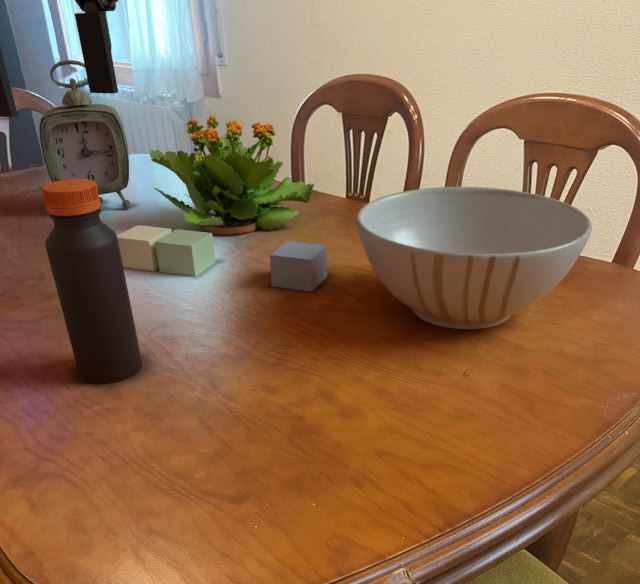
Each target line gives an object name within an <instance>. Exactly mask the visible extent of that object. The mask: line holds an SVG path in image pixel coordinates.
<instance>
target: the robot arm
mask: <svg viewBox="0 0 640 584" xmlns="http://www.w3.org/2000/svg"><path fill="white" fill-rule="evenodd" d="M74 1H75V3H76V4H77V6H78V7H79V9H80V10H81V12H75V13H74V18H75V24H76V29H77V33H78V34H77V35H78V39H79V44H80V49H81V53H82V59H83V63H84V64H85V68H84V69H85V74H86V80H88V84H87V85H88V88H89V89H88V90H89V94H118V93H119V89H118V83H117V77H116V71H115V65H114V60H113V55H112V39H111V34H110V29H109V23H108V18H107V12H114V11H115V10H116V8H117V3H118V2H119V0H74ZM18 116H19V113H18V110H17V106H16V102H15V98H14V93H13V91H12V87H11V83H10V79H9V75H8V72H7V67H6V63H5V59H4V55H3V51H2V48H1V47H0V118H14V117H18Z"/></svg>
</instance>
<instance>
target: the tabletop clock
mask: <svg viewBox="0 0 640 584" xmlns="http://www.w3.org/2000/svg"><path fill="white" fill-rule="evenodd" d="M68 65H75V66H79V67H82V68H83V69H85V64H84V62H82V61H80V60H74V59H66V60H61V61H58V62H57V63H55V64H53V66H52V67H51V69H50V72H49V76H50V79H51V81H52V82H53V83H55V84H56V85H57V86H58V87H62V88H65V89H70V90H67V91H65V93H64V94H63V97H62V100H61V101H62V102H61V106H55V107H53V108H50V109H49V110H47V111H45V112H44V113H43V115H42V116H41V118H40V122H39V142H40V147H41V153H42V158H43V161H44V164H45V167H46V170H47V174H48V176H49V179H50V182H55V181H60V180H68V179H88V180H92V181H95V182H96V184H97V189H98V194H99V199H100V204H101V205H102V204H103V202H104V200H103V198H102V196H101V195H107V194H115V193H116V194H117V195H118V197H119V198H120V199H121V201H122V202H121V205H122V207H123V209H125V210H128V209H130V208H131V206H132V203H131V202H130V200H128V199H126V198H125V196H124V194H123V193H122V190H125V189H126V188H128V184H129V180H130V157H129V156H130V154H129V145H128V141H127V136H126V132H125V129H124V124H123V121H122V120H121V117H120V115H119V113H118V111H117V109H116V108H115V107H113V106H110V105H107V104H101V103H93V100H92V98H91V96H90V95H89V94H88V93H87V92H86V91H85V90H82V89H79V88H83V87H86V86H87V85H89V84H88V79H86V80H84V81H82V82H77V80H76V78H73V77H71V78H70V79H69V83H64V82H60V81H58V80H56V79H55V77H54V72H55V71H56V69H58V68H60V67H62V66H68Z"/></svg>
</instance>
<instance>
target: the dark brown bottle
mask: <svg viewBox="0 0 640 584" xmlns="http://www.w3.org/2000/svg"><path fill="white" fill-rule="evenodd" d="M41 193H42V197H43V200H44V204H45V209H46V212H47V213H48V217H49V218H50V219H51V220H53V228H52V229H51V231H50V232H49V234H48V236H46V239H45V241H44V243H45V250H46V254H47V257H48V262H49V266H50V269H51V273H52V276H53V281H54V283H55V289H56V292H57V296H58V299H59V303H60V307H61V311H62V315H63V319H64V323H65V326H66V330H67V335H68V338H69V341H70V346H71V349H72V354H73V357H74V361H75V364H76V369H77V372H78V377H79V378H80V379H81V380H82V381H83V382H86V383H88V384H94V385H111V384H115V383H116V384H117V383H121V382H124V381H126V380H129V379H130V378H133V377H134V376H136V375H137V374H138V373H139V372H141V370H142V368H143V361H142V354H141V351H140V346H139V345H140V344H139V340H138V335H137V329H136V325H135V321H134V314H133V310H132V305H131V299H130V295H129V290H128V284H127V279H126V275H125V267H123V263H122V258H121V253H120V248H119V243H118V238H117V233H116V232H115V230H114V229H112V228H111V227H110V226H108V225H107V224H106V223H105V222H104V221H102V220H101V217H100V214H101V213H102V208H101V207H102V204H100V199H99V197H100V195H99V194H98V189H97V184H96V182H95V181H92V180H88V179H68V180H60V181H55V182H52V181H50V182H49V183H46V184H44V185H43V186H42V187H41Z"/></svg>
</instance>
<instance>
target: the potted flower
mask: <svg viewBox="0 0 640 584" xmlns="http://www.w3.org/2000/svg"><path fill="white" fill-rule="evenodd" d="M198 123H199V120H198V119H197V118H195V119H190V120H188V122H186V127H187V129H186V133H187V134H191V136H190V141H192V142H193V145H194V146H195V147H194V148H193V151H194V152H191V153H189V154H188V152H185V151H184V150H178V151H177V152H176V151H172V150H168V151H166V152H164V153H165V154H164V153H163V152H162V151H161V150H159V149H155V150H154V149H152V150H151V149H150V151H149V157H150V159H151V162H153V163H155V164H158V165H160V166H162V167H164V168H166V169H168V170H169V171H171V172H172V173H174V174H175V175H176V176H177V177H178V179H179V180H181V182H182V183H183V184H184V185H185V186H186V187H185V188H186V189H187V193H188V194H186V193H184V196H186V197H187V198H189V199H190V200H191V202H192V204H193V206H194V207H195V208H193V207H192V206H190V204H185V201H183V200H179V199H178V198H176V197H175V196H171V195H170V194H168V193H165V192H164V191H163V190H160V189H158V188H157V187H152V189H154V190H155V191H157V192H158V193H160V194H161V195H162V196H163V197H164V198H165V199H167V200H168V201H169V202H171V203H172V204H173V205H174V206H176V207H177V208H178V209H180V210H182V211H184V212H185V213H183V214H182V215H183V217H184V221H185V222H187V223H189V224H196V225H201V226H203V228H204V230H205V232H207V233H212V235H217V236H218V235H219V236H237V235H243V234H249V233H252V232H254V231H256V230H257V229H258V228H261V230H264V231H266V230H267V229H268V230H269V231H272V230H275V228H276V229H278V228H282V227H283V225H287V224H288V222H289V221H291V220H293V218H294V217H297V216H298V214H299V213H300V212H299V211H298V210H297V209H296V208H291V207H288V206H286V207H284V206H279V205H284V203H283V202H300V203H305V204H309V203H310V201H311V199H312V198H311V197H312V193H313V190H314V187H315V183H307V184H305V182H304V181H302V180H300V181H296V182H291V180H292V179H291V178H290V177H289V176H286V177H284V179H282V181H281V182H280V183H279V184H278V185H277V186H276V187H275V188H271V186H272V185H273V184H275V182H276V177H277V175H278V173H279V171H280V169H281V168H282V166H283V165H284V162H283V161H280V160H278V161H276V162H274V158H273V157H272V155H269V151H270V146H274V144H273V143H274V142H273V141H274V140H273V137H272V136H276V132H275V130H274V129H275V127H274V125H273V124H270V123H264V122H263V123H261V121H259V122H257V123H254V124H252V125H251V126H250V127H251V129H253V130H252V132H253V135H252V138H257V139H258V141H257V142H256V143H255V144H252V145H251V147H250V146H249V147H246V146H244V147H243V141H241V139H240V137H241V136H242V135H243V132H242V131H243V126H242V125H241V123H240V122H238V121H237V120H230V121H229V122H226V123H225V126H226V132H225V133H226V135H225V137H222V136H220V135H219V131H218V129H216V128H218V126H219V124H220V121H219V120H217V117H216V115H215V114H209V116H208V118H207V119H206V123H205V124H206V127H207V128H206V129H205V130H204V127H205V126H204V125H203V124H198ZM196 146H197V147H198V148H197V147H196ZM205 147H206V148H207V150H208V154H206V152H205ZM258 147H259V150H258V151H257V153H256V155H255V157H254V158H253V155H254V154H255V151H256V150H257V148H258ZM265 149H266V155H265V158H264V159H262V160H260V159H261V156H262V153H263V151H264V150H265ZM196 152H197V153H196ZM270 188H271V189H270ZM281 202H282V203H281ZM211 212H212V213H211Z"/></svg>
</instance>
